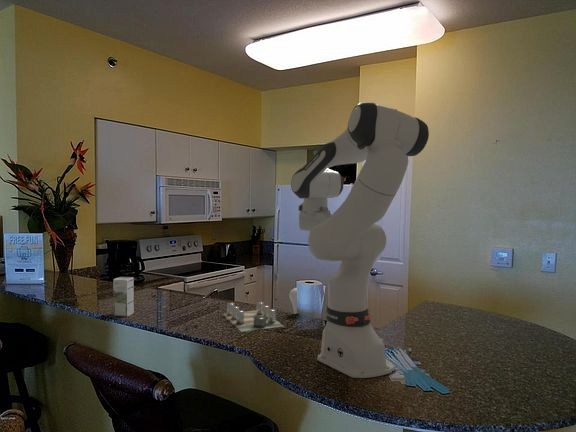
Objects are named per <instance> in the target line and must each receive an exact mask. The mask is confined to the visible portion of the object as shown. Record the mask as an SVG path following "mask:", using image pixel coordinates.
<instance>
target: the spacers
mask: <svg viewBox="0 0 576 432" xmlns="http://www.w3.org/2000/svg"><path fill="white" fill-rule="evenodd" d="M256 310H257V315H262V316H264V317H266V319H268V323H271V324H273V323H275V320H277V319H276V315H277V314H276V311H277V310H276V309H273V308H270V305H265V302H264V301H257V302H256ZM244 312H245V310H242V309H240V306H238V305H237V306H236V305H235V302H227V304H226V313H227V316H231V320H236V324H238V325H242V324H244Z"/></svg>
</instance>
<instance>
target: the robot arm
mask: <svg viewBox="0 0 576 432" xmlns="http://www.w3.org/2000/svg"><path fill="white" fill-rule="evenodd" d="M429 135H430V132H429V126H428V124H427V123H426V122H425V121H423V120H422V119H420V118H419V117H413V116H412V115H410V114H407V113H405V112H403V111H399V110H398V109H396V108H394V107H390V106H385V105H381V104H376V103H375V102H372V101H371V102H370V101H362V102H359V103H358V104H357V105H356V106H355V107H354V108H353V109H352V111H351V113H350V115H349V119H348V122H347V127H346V129H345V130H344V131H343V132H342V133H341V134H339V135H338V136H336V137H335V138H334V139H332V140H330V141H329V142H327V143H325V144H324V145H323V146H322V147H321V148H319V150H318V151H317V152H315V154H314V155H313V156H312V157H311V158H310V159H309V160H308V162H307V163H306V164H305V165H303V166H302V167H301V168H299V169H297V170H296V172H295V173H294V174H293V175H292V177H291V182H290V187H291V191H292V192H293V193H294V194H295V196H297V198H299V199H301V200H302V199H303V202H302V203H301V204H300V205H298V209H297V210H298V212H299V214H298V226H299V229H300V231H305V232H309V235H308V240H307V244H308V248H309V251H310V253H311V255H312V256H313V257H314V258H315V259H316V260H321V261H327V262H340V261H341V262H340V265H339V268H338V269H337V271H336V272H335V273H334V274H333V275H331V277H330V279H329V280H328V284H327V285H328V287H327V288H328V292H327V298H328V299H327V306H326V311H325V315H326V317H325V318H326V320H327V321H326V324H325V326H324V328H323V330H322V336H321V347H320V353H319V354H318V355H317V356H316V357H317V358H316V359H317V361H318V362H320V363H322V364H324V365H327V366H328V367H330V368H332V369H334V370H336V371H338V372H340V373H342V374H344V375H346V376H348V377H351V378H353V379H354V378H355V379H367V378H375V377H381V376H384V375H385V376H386V375H387V374H391V373H393V372H394V371H396V366H395V365H394V363H392V362H391V361H390V360H389V359H387V353H386V346H385V341H384V339H383V338H380V337H379V336H378V333H377V332H376V331H375V329H374V328H373V326H372V324H371V322H372V321H371V320H373V318H371V317H373V315H371V314H370V312H369V309H368V307H367V305H368V304H367V302H368V284H369V278H370V274H371V272H372V269H373V266H374V264H375V262H376V260H377V258H378V257H379V256H380V255H381V254H382V253H383V252H384V250H385V248H386V246H387V235H386V232H385V230H384V229H383V228H382V227H381V226H380V225H379V224H376V223H377V222H380V221H381V220H382V219H383V218H384V217H385V215H386V213H387V211H388V209H390V206H391V204H392V202H393V200H394V199H395V197H396V195H397V193H398V190H399V189H400V187H401V185H402V183H403V181H404V177H405V175H406V172H407V169H408V165H409V157H415V156H417V155H419V154H420V153H421V152H422V151H423V150H424V149H425V147H426V145H427V143H428V142H429V141H428V140H429V137H430V136H429ZM363 162H364V164H363V165H362V166H361V167H362V168H361V169H360V171H359V174H357V177H356V179H355V182H354V183H353V185H352V188H351V189H350V191H349V193H348V195H347V197H346V198H345V200H344V201H343V202H342V204H341V205H340V206H339V207H338V208H337V209H336V210H335V211H334V212H333V213H331V210H330V208H329V207H328V200H329V199H332V198H333V199H334V198H337V197H339V196H340V195H341V193H342V192H343V190H344V178H343V177H342V175H341V174H340V173H339V171H335V170H333V169H330V168H332V167H335V166H341V165H351V164H359V163H363ZM392 371H393V372H392Z"/></svg>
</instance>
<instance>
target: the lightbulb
mask: <svg viewBox="0 0 576 432" xmlns="http://www.w3.org/2000/svg"><path fill="white" fill-rule="evenodd" d="M297 288H298V287H294V288H293V289H291V290H290V292H289V295H288V297H289V300H290V302H291V304H292V309H293V315H294V314H296V313H297Z"/></svg>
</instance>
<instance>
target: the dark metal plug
mask: <svg viewBox="0 0 576 432" xmlns="http://www.w3.org/2000/svg"><path fill="white" fill-rule="evenodd" d="M254 327H255V328H264V327H266V317H264V316H256V317H254Z"/></svg>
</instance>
